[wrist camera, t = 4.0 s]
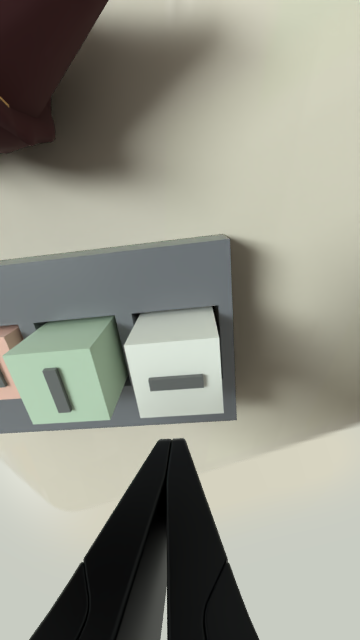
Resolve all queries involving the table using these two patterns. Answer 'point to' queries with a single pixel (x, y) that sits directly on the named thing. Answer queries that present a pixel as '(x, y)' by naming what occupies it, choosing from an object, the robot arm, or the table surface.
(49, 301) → the keypad
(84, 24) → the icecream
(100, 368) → the key sage
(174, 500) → the robot arm
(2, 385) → the key coral
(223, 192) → the table surface
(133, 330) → the key ivory
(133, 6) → the table surface
